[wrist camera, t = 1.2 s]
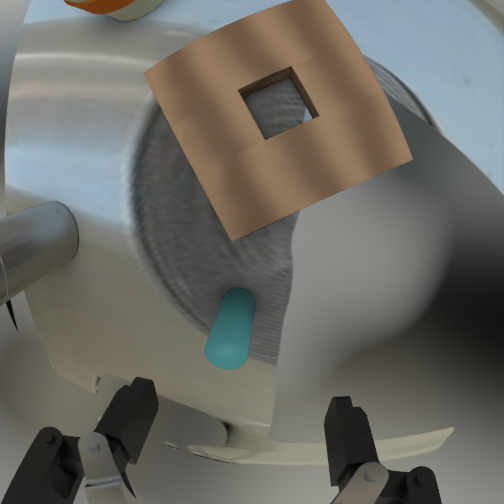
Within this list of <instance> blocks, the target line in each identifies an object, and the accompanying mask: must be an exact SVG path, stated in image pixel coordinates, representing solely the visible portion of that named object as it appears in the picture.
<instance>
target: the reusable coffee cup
mask: <svg viewBox="0 0 504 504" xmlns="http://www.w3.org/2000/svg"><path fill="white" fill-rule="evenodd" d="M64 1H65V2H66V4H68V5H71V6H73V7H76V8H79V9H82V10H85V11H88V12H91V13H94V14H105V15H107V16H110V17H112V18H115V19H117V20H120V21H130V20H135V19H138V18H140V17H142V16H145V15H147V14H148V13H150V12H151V11H153V10H154V9H155V8H157V7H158V6H159V5H160V4H161V3H162V2H163V1H164V0H64Z"/></svg>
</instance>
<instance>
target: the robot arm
mask: <svg viewBox="0 0 504 504" xmlns="http://www.w3.org/2000/svg"><path fill="white" fill-rule="evenodd" d="M77 246H78V231H77V227H76V223H75V221H74V218H73V217H72V215H71V213H70V212H69V210H68V209H67V208H66V207H65V206H64V205H62V204H61V203H58V202H49V203H45V204H42V205H39V206H36V207H33V208H29V209H26V210H24V211H21V212H18V213H15V214H12V215H9V216H7V217H4V218H1V219H0V306H1V305H3V304H4V303H5V302H7V301H8V300H9V299H11V298H12V297H14V296H15V295H17V294H18V293H19V292H21V291H22V290H24V289H25V288H27V287H28V286H30V285H31V284H33V283H34V282H36V281H37V280H39V279H40V278H42V277H44V276H45V275H47V274H48V273H50V272H51V271H53V270H55V269H56V268H58V267H60V266H61V265H63V264H64V263H66V262H68V261H69V260H71V259H72V258H73V256H74V255H75V253H76V251H77ZM158 405H159V402H158V398H157V394H156V390H155V386H154V382H153V381H152V380H150V379H145V378H141V377H136V378H135V379H134V381H133V382H132V384H131V386H128V385H124V386H123V387H122V388H121V389H119V390H118V391H117V392H116V394H115V396H114V397H113V400H112V401H111V402H110V404H109V407H108V408H107V409H106V411H105V413H104V415H103V416H102V418H101V420H100V421H99V423H98V425H97V427H96V429H95V430H94V431H93V432H90V433H86V434H84V435H83V436H82V437H72V436H65V435H62V434H61V432H60V431H59V430H58V429H56V428H54V427H45V428H43V429H41V430H40V431H39V433H38V434H37V436H36V438H35V439H34V441H33V443H32V444H31V446H30V448H29V450H28V452H27V453H26V455H25V457H24V459H23V461H22V463H21V464H20V466H19V468H18V470H17V472H16V474H15V476H14V478H13V480H12V482H11V484H10V486H9V488H8V490H7V492H6V494H5V496H4V498H3V500H2V503H1V504H73V502H74V499H75V496H76V494H77V491H78V489H79V486H80V484H81V481H82V479H83V476H85V477H86V480H87V485H86V486H85V490H86V494H87V498H88V500H89V504H141V502H140V501H139V499H138V497H137V494H136V492H135V490H134V488H133V485H132V483H131V481H130V479H129V476H128V473H127V471H126V469H125V468H126V466H127V463H128V462H129V463H131V464H135V465H136V463H137V460H138V457H139V455H140V452H141V450H142V448H143V445H144V443H145V440H146V438H147V436H148V433H149V431H150V428H151V426H152V424H153V421H154V419H155V416H156V414H157V411H158ZM324 430H325V438H326V446H327V454H328V463H329V472H330V481H331V486H339V493H338V494H337V496H336V497H335V498H334V500H333V501H332V502H331V503H330V504H442V502H441V498H440V494H439V489H438V486H437V482H436V478H435V474H434V473H433V471H432V470H431V469H429V468H427V467H424V466H420V467H416V468H414V469H412V470H411V471H410V472H400V471H391V470H388V469H386V467H385V466H383V465H382V464H380V462H379V460H378V456H377V452H376V448H375V444H374V440H373V437H372V433H371V429H370V426H369V422H368V418H367V415H366V414H365V412H364V411H363V410H362V409H361V407H353V405H352V402H351V398H350V397H349V396H345V397H344V396H343V397H333V398H332V399H331V402H330V405H329V408H328V411H327V413H326V416H325V422H324Z"/></svg>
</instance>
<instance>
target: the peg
mask: <svg viewBox="0 0 504 504" xmlns="http://www.w3.org/2000/svg"><path fill="white" fill-rule="evenodd" d="M254 310H255V298H254V296H253V295H252V293H250V292H249V291H248V290H246V289H243V288H233V289H230V290H229V291H227V292H226V294H225V295H224V297H223V300H222V303H221V306H220V308H219V311H218V314H217V316H216V319H215V322H214V325H213V327H212V330H211V333H210V335H209V338H208V341H207V344H206V346H205V355H206V357H207V359H208V360H209V361H210V362H211V363H212V364H213V365H215V366H217V367H219V368H222V369H236V368H239V367H241V366H242V365H243V364H244V363H245V362H246V360H247V356H248V349H249V343H250V337H251V330H252V323H253V317H254Z"/></svg>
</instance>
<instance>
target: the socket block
mask: <svg viewBox="0 0 504 504" xmlns="http://www.w3.org/2000/svg"><path fill="white" fill-rule="evenodd" d="M144 75H145V77H146V79H147V81H148V83H149V85H150V87H151V89H152V91H153V93H154V95H155V97H156V99H157V101H158V103H159V105H160V107H161V108H162V110H163V112H164V114H165V116H166V118H167V120H168V122H169V124H170V126H171V128H172V130H173V132H174V134H175V136H176V137H177V139H178V141H179V143H180V145H181V147H182V149H183V151H184V153H185V155H186V157H187V158H188V160H189V162H190V164H191V166H192V168H193V170H194V172H195V174H196V176H197V177H198V179H199V181H200V183H201V185H202V187H203V189H204V191H205V193H206V194H207V196H208V198H209V200H210V202H211V204H212V206H213V208H214V209H215V211H216V213H217V215H218V217H219V219H220V221H221V223H222V224H223V226H224V228H225V230H226V232H227V234H228V236H229V237H230V239H231V241H234V240H236V239H238V238H241V237H243V236H245V235H247V234H249V233H251V232H253V231H255V230H258V229H260V228H262V227H264V226H266V225H268V224H270V223H273V222H275V221H277V220H279V219H281V218H283V217H285V216H288V215H290V214H292V213H294V212H296V211H298V210H301V209H303V208H305V207H307V206H309V205H312V204H314V203H316V202H318V201H320V200H323V199H325V198H327V197H329V196H331V195H334V194H336V193H338V192H340V191H342V190H345V189H347V188H349V187H351V186H354V185H356V184H358V183H360V182H363V181H365V180H367V179H369V178H372V177H374V176H376V175H378V174H381V173H383V172H385V171H387V170H390V169H392V168H394V167H397V166H399V165H401V164H404V163H406V162H408V161H410V160H413V158H412V155H411V153H410V150H409V148H408V145H407V143H406V140H405V138H404V135H403V133H402V130H401V128H400V126H399V123H398V121H397V119H396V117H395V115H394V112H393V110H392V108H391V106H390V104H389V102H388V100H387V98H386V96H385V94H384V92H383V90H382V88H381V86H380V84H379V82H378V80H377V79H376V77H375V75H374V73H373V71H372V70H371V68H370V66H369V64H368V63H367V61H366V59H365V58H364V56H363V54H362V53H361V51H360V50H359V48H358V46H357V45H356V43H355V42H354V40H353V39H352V37H351V36H350V34H349V33H348V31H347V30H346V28H345V27H344V25H343V24H342V23H341V21H340V20H339V18H338V17H337V16H336V14H335V13H334V12H333V10H332V9H331V8H330V6H329V5H328V4H327V2H326V1H325V0H292V1H289V2H286V3H282V4H279V5H276V6H274V7H271V8H268V9H265V10H262V11H260V12H257V13H254V14H252V15H249V16H247V17H245V18H242V19H240V20H237V21H235V22H233V23H231V24H228V25H226V26H224V27H222V28H220V29H218V30H216V31H214V32H212V33H210V34H208V35H206V36H204V37H202V38H200V39H198V40H196V41H194V42H192V43H191V44H189V45H187V46H185V47H183V48H182V49H180V50H178V51H177V52H175V53H173V54H172V55H170V56H168V57H167V58H165V59H163V60H162V61H160V62H159V63H157V64H156V65H154V66H153V67H151V68H150V69H148V70H147V71H145V72H144ZM289 77H290V79H291V80H292V82H293V84H294V85H295V87H296V89H297V91H298V92H299V94H300V96H301V98H302V100H303V101H304V103H305V105H306V107H307V109H308V111H309V113H310V114H311V116H312V118H313V119H312V120H309V121H307V122H305V123H302V124H300V125H298V126H295V127H293V128H291V129H289V130H286V131H284V132H282V133H280V134H278V135H276V136H273V137H271V138H269V139H267V140H265V139H264V137H263V135H262V133H261V131H260V130H259V128H258V126H257V124H256V122H255V120H254V118H253V117H252V115H251V113H250V111H249V109H248V108H247V106H246V104H245V102H244V100H243V99H242V98H244V97H246V96H248V95H251V94H253V93H255V92H257V91H259V90H261V89H263V88H266V87H268V86H270V85H272V84H275V83H277V82H279V81H282V80H284V79H286V78H289Z"/></svg>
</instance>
